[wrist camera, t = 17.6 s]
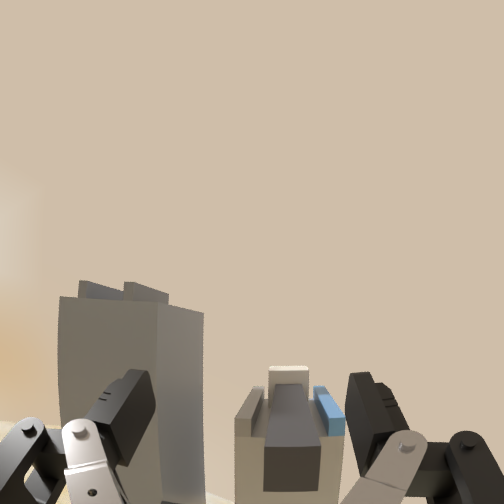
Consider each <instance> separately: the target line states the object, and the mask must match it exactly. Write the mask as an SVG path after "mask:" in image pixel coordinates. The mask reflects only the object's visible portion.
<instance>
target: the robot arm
mask: <svg viewBox="0 0 504 504" xmlns="http://www.w3.org/2000/svg"><path fill="white" fill-rule="evenodd" d="M155 408H156V400H155V396H154V392H153V387H152V383H151V378H150V374H149V372H148V371H147V370H138V369H129V370H128V371H127V373H126V374H125V375H124V377H123V378H122V379H117V380H115V381H114V382H112V383H111V384H109V385H108V386H107V388H106V389H105V390H104V392H103V393H102V394H101V396H100V397H99V400H97V401H96V402H95V404H94V405H93V406H92V408H91V409H90V410H89V412H88V413H87V414H86V416H85V417H84V418H83V419H75V420H72V421H70V422H68V423H67V424H66V425H65V426H64V427H63V429H46V428H45V426H44V424H43V422H42V421H41V420H40V419H38V418H34V417H28V418H24V419H22V420H20V421H18V422H17V423H16V424H15V426H14V427H13V428H12V429H11V430H10V432H9V433H8V434H7V435H6V436H5V438H4V439H3V440H2V441H1V442H0V504H55V503H56V502H57V500H58V498H59V496H60V494H61V492H62V490H63V488H64V486H65V485H66V483H67V488H68V492H69V496H70V500H71V504H131V503H130V501H129V499H128V497H127V494H126V492H125V490H124V487H123V485H122V483H121V480H120V478H119V475H118V473H117V471H116V469H115V468H116V466H117V465H120V466H125V467H128V466H129V464H130V461H131V459H132V457H133V455H134V453H135V451H136V449H137V447H138V445H139V443H140V441H141V439H142V437H143V435H144V433H145V431H146V429H147V427H148V425H149V423H150V421H151V419H152V417H153V415H154V412H155ZM345 417H346V421H347V425H348V428H349V432H350V436H351V440H352V444H353V448H354V452H355V456H356V460H357V465H358V469H359V473H360V478H359V479H358V481H357V482H356V483H355V485H354V486H353V488H352V489H351V490H350V492H349V493H348V494H347V496H346V497H345V498H344V500H343V501H342V502H341V504H400V503H401V502H402V500H403V498H404V496H406V497H407V496H408V497H426V500H427V504H504V475H503V474H502V472H501V470H500V468H499V466H498V464H497V462H496V460H495V459H494V457H493V455H492V453H491V451H490V450H489V448H488V446H487V444H486V443H485V441H484V439H483V438H482V437H481V436H480V435H479V434H477V433H475V432H472V431H461V432H458V433H456V434H455V435H454V436H452V438H451V439H450V442H449V443H446V442H445V443H444V442H427V440H426V439H425V437H424V436H423V435H421V434H420V433H418V432H415V431H412V430H410V429H409V426H408V425H407V422H406V420H405V418H404V416H403V414H402V412H401V410H400V408H399V407H398V403H397V402H396V400H395V397H394V395H393V393H392V391H391V389H390V388H388V387H387V386H386V385H384V384H383V383H374V380H373V378H372V376H371V374H370V372H359V373H351V374H350V376H349V382H348V388H347V395H346V402H345ZM31 465H33V467H34V470H33V471H32V473H31V474H30V476H29V478H28V479H27V481H26V482H25V484H24V476H25V474H26V473H27V471H28V470H29V468H30V467H31ZM161 504H178V503H172V502H167V501H162V502H161Z"/></svg>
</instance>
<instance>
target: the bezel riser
mask: <svg viewBox="0 0 504 504" xmlns="http://www.w3.org/2000/svg"><path fill="white" fill-rule="evenodd" d="M308 405H309V408H310V411H311V414H312V417H313V421H314V424H315V427H316V430H317V433H318V436H319V440H320V443H321V461H320V474H319V486H318V491H308V492H263V475H264V445H265V440H266V434H267V429H268V424H269V418H270V413H271V408H268V399H264V387H263V386H260V387H259V386H254V387H253V389H252V390H251V392H250V394H249V395H248V397H247V399H246V400H245V402H244V404H243V405H242V407H241V409H240V410H239V412H238V414H237V415H236V417H235V504H338V497H339V489H340V480H341V471H342V460H343V449H344V436H345V420H346V417H345V415H344V414H343V413H342V411H341V410H340V408H339V407H338V405H337V404H336V403H335V401H334V400H333V398H332V397H331V395H330V394H329V392H328V391H327V389H326V388H325V387H324V386H314V387H313V398H310V399H308Z"/></svg>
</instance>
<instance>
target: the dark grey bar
mask: <svg viewBox="0 0 504 504" xmlns="http://www.w3.org/2000/svg"><path fill="white" fill-rule="evenodd" d="M268 392H269V393H268V408H271V413H270V418H269V424H268V429H267V434H266V440H265V445H264V475H263V492H308V491H318V486H319V474H320V461H321V443H320V440H319V436H318V433H317V430H316V427H315V424H314V421H313V417H312V414H311V411H310V408H309V405H308V394H309V369H308V368H307V366H270V369H269V389H268Z"/></svg>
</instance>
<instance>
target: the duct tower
mask: <svg viewBox="0 0 504 504" xmlns="http://www.w3.org/2000/svg"><path fill="white" fill-rule="evenodd" d="M168 299H169V294H167V293H164V292H161V291H158V290H155V289H152V288H149V287H147V286H144V285H141V284H138V283H135V282H124V291H120V290H117V289H113V288H110V287H106V286H103V285H100V284H96V283H93V282H90V281H79V290H78V298H74V297H61V296H60V300H59V318H58V388H59V405H60V417H61V427H62V429H63V427H64V426H65V425H66V424H67V423H68V422H70V421H72V420H75V419H83V418H84V417H85V416H86V414H87V413H88V412H89V410H90V409H91V408H92V406H93V405H94V404H95V402H96V401H97V400H99V397H100V396H101V394H102V393H103V392H104V390H105V389H106V388H107V386H108V385H109V384H111V383H112V382H114V381H115V380H117V379H122V378H123V377H124V375H125V374H126V373H127V371H128V370H129V369H138V370H147V371H148V372H149V374H150V378H151V383H152V387H153V392H154V396H155V400H156V408H155V412H154V415H153V417H152V419H151V421H150V423H149V425H148V427H147V429H146V431H145V433H144V435H143V437H142V439H141V441H140V443H139V445H138V447H137V449H136V451H135V453H134V455H133V457H132V459H131V461H130V464H129V466H128V467H125V466H120V465H117V466H116V468H115V469H116V471H117V473H118V475H119V478H120V480H121V483H122V485H123V487H124V490H125V492H126V494H127V497H128V499H129V501H130V503H131V504H161V502H162V501H167V502H172V503H178V504H206V498H205V476H204V442H203V318H204V313H202V312H197V311H193V310H188V309H185V308H180V307H176V306H172V305H168Z"/></svg>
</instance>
